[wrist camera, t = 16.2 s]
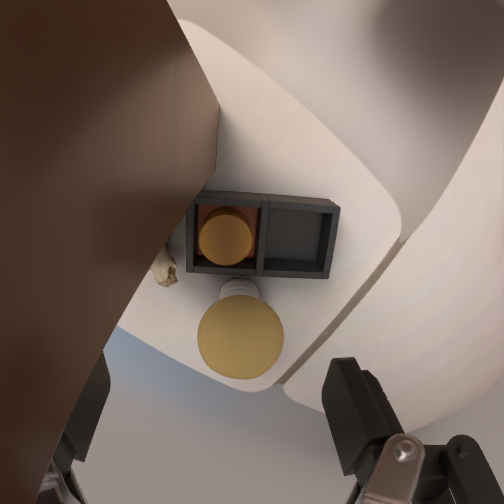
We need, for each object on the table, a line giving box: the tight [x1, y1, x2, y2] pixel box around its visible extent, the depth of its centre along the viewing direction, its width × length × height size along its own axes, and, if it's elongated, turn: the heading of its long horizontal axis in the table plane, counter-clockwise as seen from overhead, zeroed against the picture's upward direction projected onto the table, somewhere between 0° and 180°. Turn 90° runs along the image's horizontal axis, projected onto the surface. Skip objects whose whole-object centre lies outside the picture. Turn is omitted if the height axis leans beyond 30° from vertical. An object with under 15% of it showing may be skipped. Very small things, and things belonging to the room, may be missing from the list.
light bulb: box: [198, 278, 284, 379], centre depth 24 cm, size 6×6×10 cm
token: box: [199, 206, 252, 265], centre depth 24 cm, size 4×4×3 cm
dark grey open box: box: [186, 190, 340, 279], centre depth 25 cm, size 12×6×3 cm, turn 86°
